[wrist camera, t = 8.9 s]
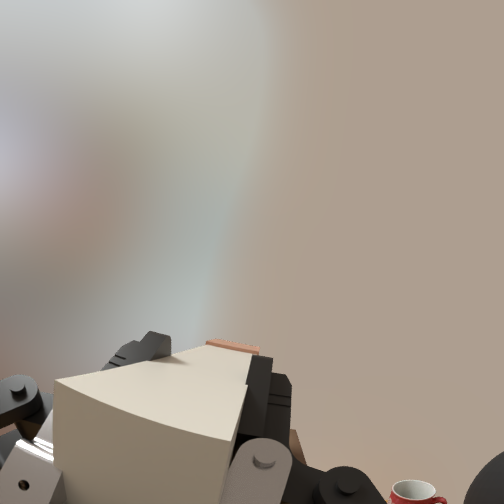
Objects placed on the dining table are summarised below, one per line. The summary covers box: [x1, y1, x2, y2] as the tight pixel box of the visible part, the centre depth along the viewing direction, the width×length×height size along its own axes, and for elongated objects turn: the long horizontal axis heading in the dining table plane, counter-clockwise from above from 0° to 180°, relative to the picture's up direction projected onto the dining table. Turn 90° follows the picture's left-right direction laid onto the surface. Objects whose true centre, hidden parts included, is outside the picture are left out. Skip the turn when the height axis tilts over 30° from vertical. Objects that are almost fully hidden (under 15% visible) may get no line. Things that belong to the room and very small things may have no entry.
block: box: [52, 339, 260, 504], centre depth 12 cm, size 3×18×3 cm, turn 178°
